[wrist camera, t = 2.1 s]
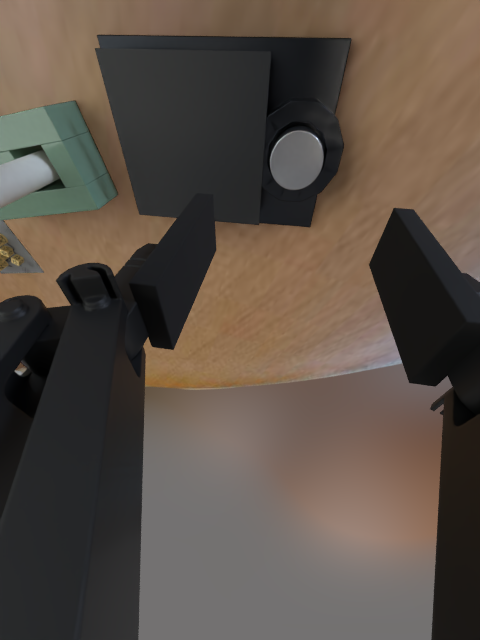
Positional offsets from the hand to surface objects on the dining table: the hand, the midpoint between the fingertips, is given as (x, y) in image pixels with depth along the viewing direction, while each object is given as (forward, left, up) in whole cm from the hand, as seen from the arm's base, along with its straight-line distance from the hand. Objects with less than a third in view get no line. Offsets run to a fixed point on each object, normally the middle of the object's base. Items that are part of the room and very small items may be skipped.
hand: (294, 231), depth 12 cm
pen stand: (-2, -25, -15) cm, 30 cm away
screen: (-1, -9, -13) cm, 15 cm away
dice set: (+7, -40, -15) cm, 44 cm away
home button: (0, 0, -13) cm, 13 cm away
